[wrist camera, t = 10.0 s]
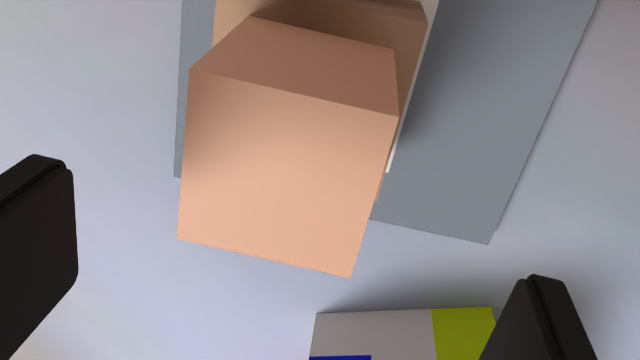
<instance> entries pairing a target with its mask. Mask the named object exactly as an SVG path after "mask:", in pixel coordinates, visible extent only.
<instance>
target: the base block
mask: <svg viewBox="0 0 640 360" xmlns="http://www.w3.org/2000/svg"><path fill="white" fill-rule="evenodd" d="M247 16H252V17H257V18H261V19H265V20H270V21H274V22H278V23H283V24H287V25H291V26H295V27H300V28H304V29H308V30H313V31H317V32H321V33H326V34H330V35H334V36H339V37H343V38H347V39H352V40H356V41H360V42H365V43H369V44H373V45H377V46H382V47H386V48H390V49H394V54H395V67H396V80H397V92H398V105H399V120H398V124H397V127H396V130H395V134H394V137H393V140H392V143H391V147H390V150H389V153H388V157H387V160H386V163H385V166H384V170H383V173H382V176H381V180H380V183H379V186H378V189H377V193H376V196H375V199H374V202H377V199H378V196H379V192H380V189H381V185H382V182H383V179H384V175H385V172H386V168H387V165H388V161H389V158H390V155H391V151H392V148H393V144H394V141H395V137H396V134H397V130H398V127H399V124H400V120H401V117H402V113H403V110H404V106H405V103H406V100H407V96H408V93H409V89H410V86H411V82H412V79H413V76H414V72H415V69H416V65H417V62H418V58H419V55H420V52H421V48H422V45H423V41H424V38H425V34H426V31H427V28H428V21H427V18H426V15H425V13H424V10H423V7H422V4H421V2H420V1H416V0H216V6H215V18H214V31H213V43H212V48H213V47H214V46H215V45H216V44H217V43H218V42H219V41H221V40H222V39H223V38H224V37H225V36H226V35H227V34H228V33H230V32H231V31H232V30H233V29H234V28H235V27H236V26H237V25H238V24H240V23H241V22H242V21H243V20H244V19H245V18H246V17H247Z"/></svg>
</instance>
